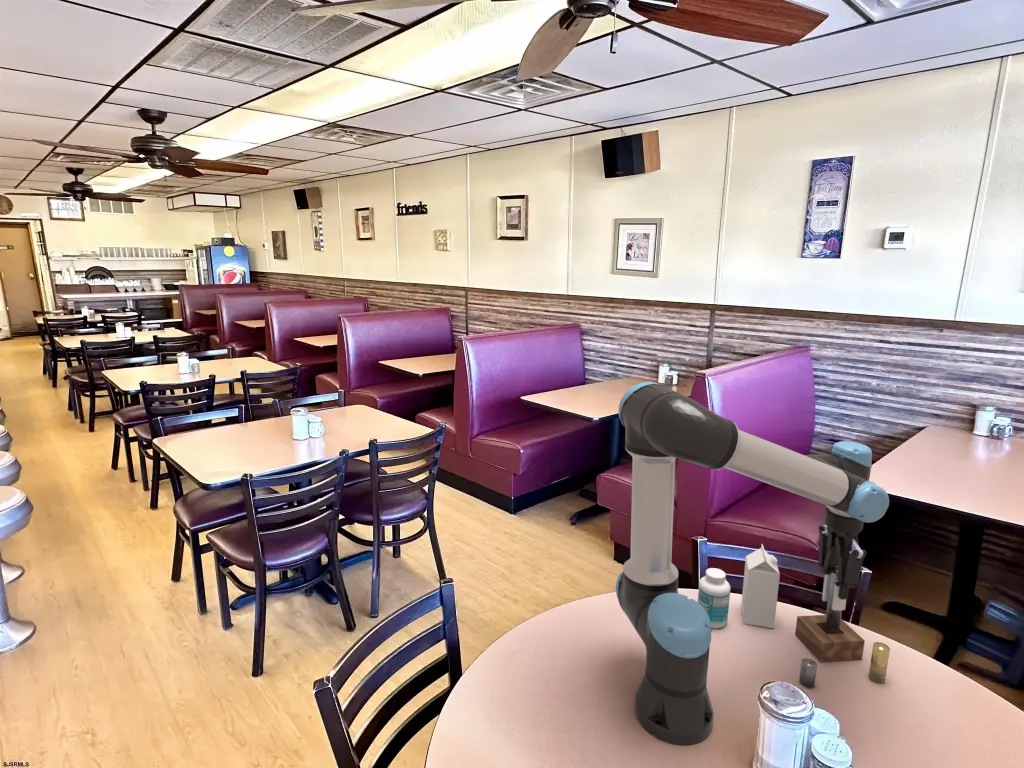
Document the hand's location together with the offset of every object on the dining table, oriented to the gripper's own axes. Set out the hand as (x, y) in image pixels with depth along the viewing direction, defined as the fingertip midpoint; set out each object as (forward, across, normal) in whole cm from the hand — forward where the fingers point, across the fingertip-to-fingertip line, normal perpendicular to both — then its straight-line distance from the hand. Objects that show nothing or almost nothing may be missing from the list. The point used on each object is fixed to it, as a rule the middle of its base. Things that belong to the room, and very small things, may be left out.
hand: (833, 604), depth 131 cm
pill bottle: (+11, +12, +23) cm, 28 cm away
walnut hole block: (+11, 0, 0) cm, 11 cm away
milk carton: (+11, +12, +11) cm, 20 cm away
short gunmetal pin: (+11, -11, +12) cm, 20 cm away
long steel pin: (+5, 0, 0) cm, 5 cm away
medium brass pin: (+11, -11, -4) cm, 16 cm away
